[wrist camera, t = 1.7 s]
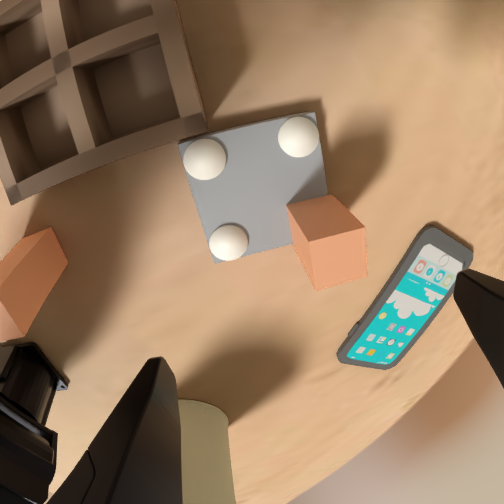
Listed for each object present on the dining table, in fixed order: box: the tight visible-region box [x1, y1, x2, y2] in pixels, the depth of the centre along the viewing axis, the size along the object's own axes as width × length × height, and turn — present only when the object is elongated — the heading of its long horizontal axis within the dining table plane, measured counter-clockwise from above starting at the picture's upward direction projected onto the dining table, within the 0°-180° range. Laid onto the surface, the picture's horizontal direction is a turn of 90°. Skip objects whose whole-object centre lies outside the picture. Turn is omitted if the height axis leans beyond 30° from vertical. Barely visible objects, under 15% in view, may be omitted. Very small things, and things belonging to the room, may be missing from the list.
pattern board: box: [178, 111, 367, 291], centre depth 17 cm, size 8×8×6 cm
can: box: [178, 399, 236, 504], centre depth 26 cm, size 9×9×12 cm
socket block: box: [0, 0, 208, 206], centre depth 13 cm, size 12×12×4 cm
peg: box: [0, 227, 69, 341], centre depth 16 cm, size 3×3×8 cm
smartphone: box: [336, 225, 473, 370], centre depth 27 cm, size 9×1×15 cm
